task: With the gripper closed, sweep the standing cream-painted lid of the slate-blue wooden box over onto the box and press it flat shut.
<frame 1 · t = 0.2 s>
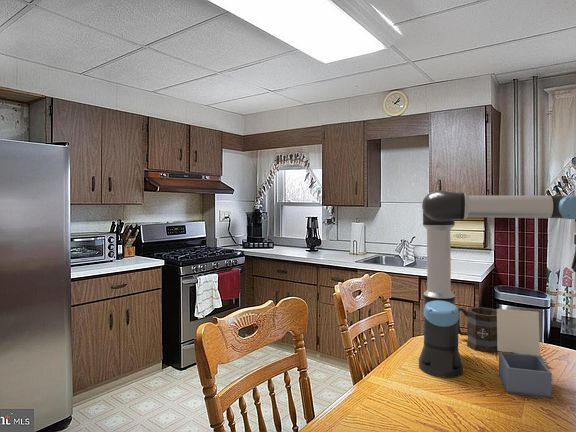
box: (523, 385, 129), on the table
lid: (517, 331, 136), point 15 cm above the table, hinge at 100.0°
mug: (476, 345, 166), on the table
packaged food: (527, 362, 149), on the table
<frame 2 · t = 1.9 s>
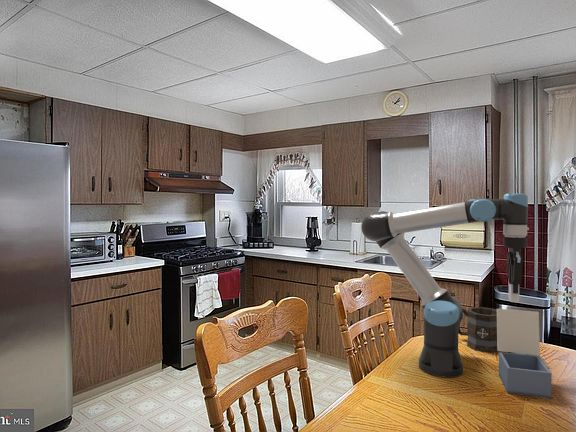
hand: (513, 301, 142), 24 cm above the table, fingers closed
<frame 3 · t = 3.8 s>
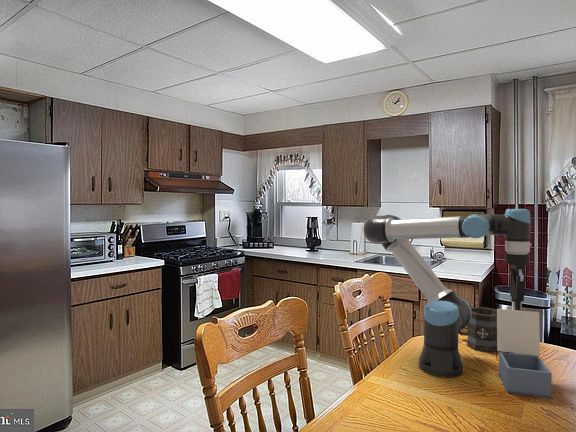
hand: (516, 319, 139), 19 cm above the table, fingers closed
lid: (518, 331, 136), point 16 cm above the table, hinge at 97.5°, touching gripper
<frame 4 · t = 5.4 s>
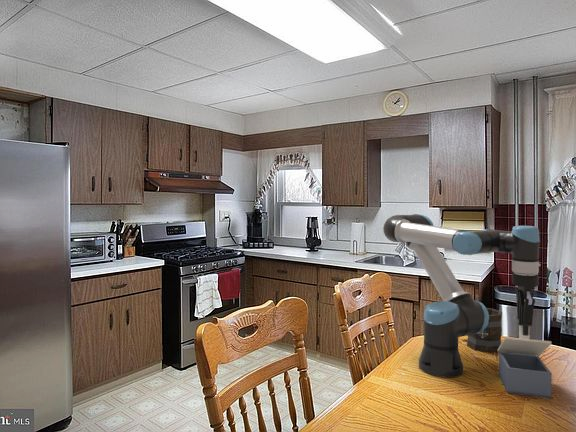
hand: (524, 343, 130), 14 cm above the table, fingers closed
lid: (522, 346, 130), point 13 cm above the table, hinge at 35.8°, touching gripper
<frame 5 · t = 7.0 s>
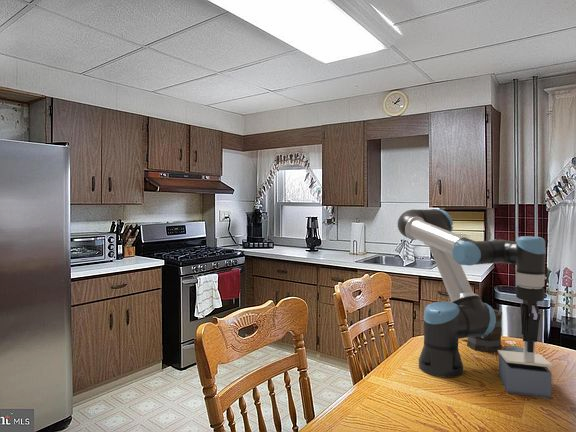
hand: (528, 360, 123), 11 cm above the table, fingers closed
lid: (523, 358, 129), point 9 cm above the table, hinge at 7.3°, touching gripper
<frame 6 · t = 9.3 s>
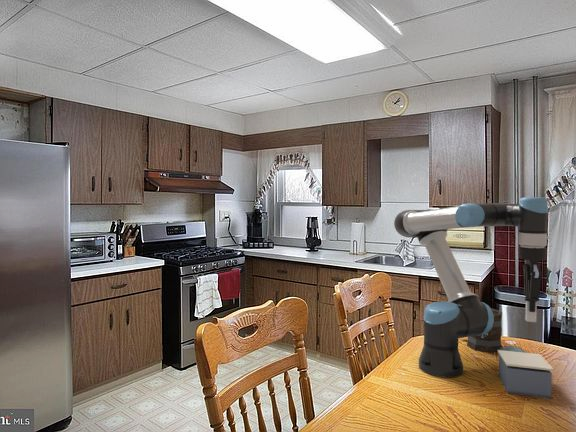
hand: (530, 321, 124), 23 cm above the table, fingers closed
lid: (523, 359, 129), point 9 cm above the table, hinge at 3.2°
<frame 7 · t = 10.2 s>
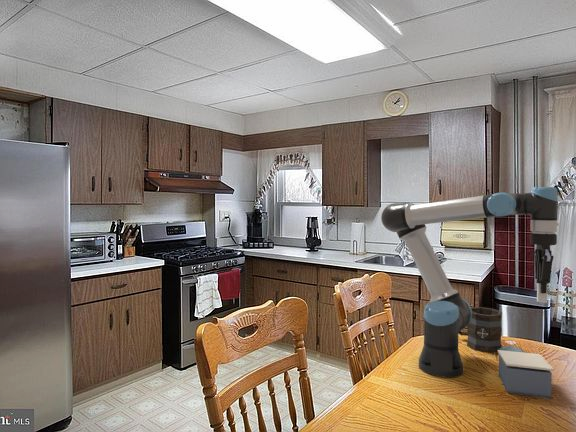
hand: (542, 301, 134), 26 cm above the table, fingers closed
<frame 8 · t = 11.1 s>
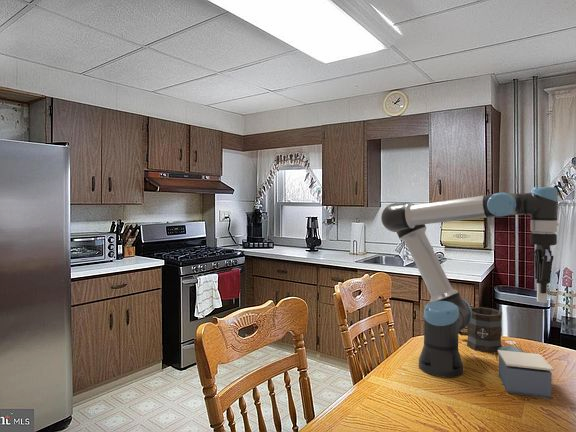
hand: (541, 301, 134), 26 cm above the table, fingers closed
at the end: lid at +3° (first picture: +100°) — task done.
